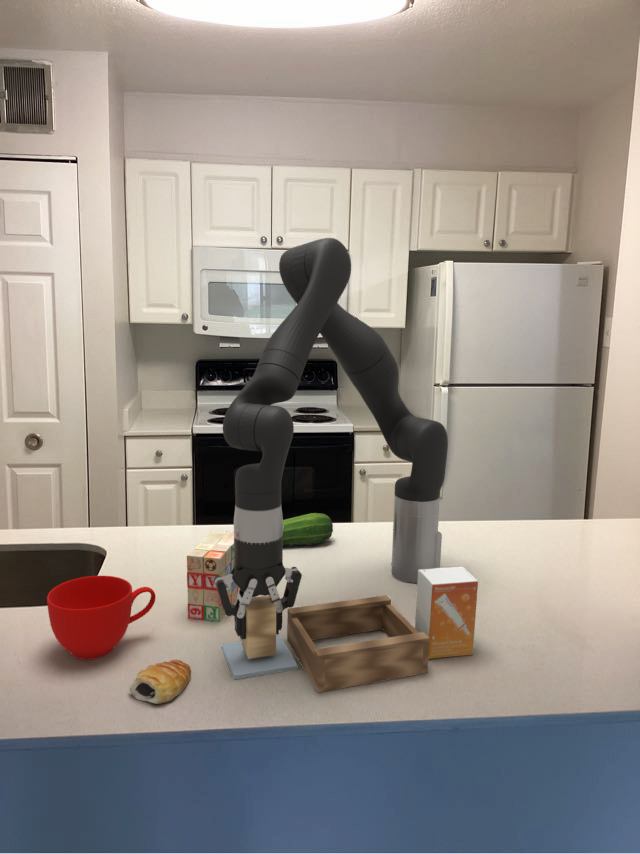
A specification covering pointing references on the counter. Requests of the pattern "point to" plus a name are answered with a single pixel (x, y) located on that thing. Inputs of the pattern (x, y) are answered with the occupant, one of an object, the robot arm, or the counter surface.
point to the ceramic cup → (93, 613)
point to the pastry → (161, 681)
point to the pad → (257, 660)
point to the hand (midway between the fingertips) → (258, 634)
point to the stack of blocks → (210, 576)
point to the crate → (360, 659)
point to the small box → (447, 610)
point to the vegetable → (307, 529)
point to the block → (260, 628)
